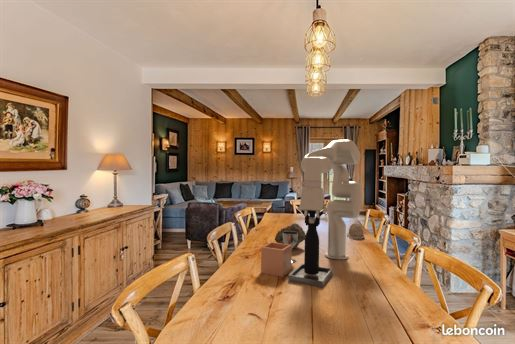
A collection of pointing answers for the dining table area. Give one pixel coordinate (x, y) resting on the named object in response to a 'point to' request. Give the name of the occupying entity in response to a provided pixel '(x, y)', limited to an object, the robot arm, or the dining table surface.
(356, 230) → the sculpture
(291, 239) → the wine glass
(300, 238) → the rock
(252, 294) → the dining table surface
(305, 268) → the wine bottle
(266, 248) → the box
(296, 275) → the tray
